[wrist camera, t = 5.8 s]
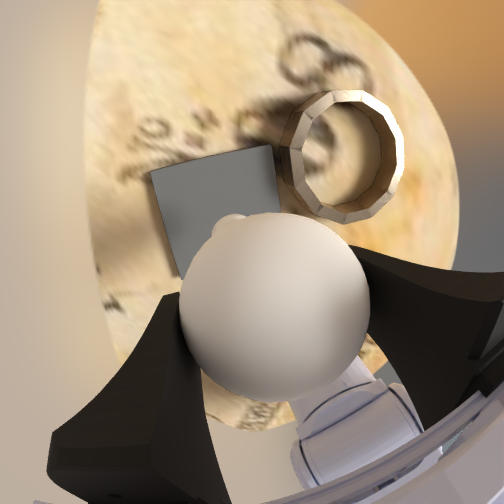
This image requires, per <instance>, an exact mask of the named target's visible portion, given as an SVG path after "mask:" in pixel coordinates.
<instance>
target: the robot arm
mask: <svg viewBox="0 0 504 504" xmlns="http://www.w3.org/2000/svg"><path fill="white" fill-rule="evenodd" d="M348 246H349V247H350V249H351V250H352V251H353V253H354V255H355V256H356V258H357V259H358V261H359V262H360V264H361V266H362V269H363V271H364V274H365V277H366V280H367V283H368V286H369V294H370V319H369V325H368V329H367V333H368V334H369V335H370V337H371V338H372V339H373V340H374V341H375V343H376V344H377V345H378V346H379V347H380V349H381V350H382V351H383V353H384V354H385V356H386V357H387V359H388V360H389V362H390V363H391V365H392V367H393V368H394V370H395V371H396V373H397V375H398V377H399V378H400V380H401V382H402V384H403V385H402V384H397V383H392V384H390V385H389V386H388V387H387V386H386V385H385V384H384V382H383V381H382V380H381V379H380V378H379V379H377V380H375V378H374V377H373V375H372V374H371V373H370V371H369V370H368V369H367V367H366V366H365V364H364V363H363V362H362V360H361V359H360V358H359V356H358V355H357V356H356V358H355V359H354V360H353V362H352V363H351V364H350V366H349V367H348V368H347V369H346V370H345V371H344V373H342V374H341V375H340V376H339V377H338V378H337V379H336V380H335V381H334V382H332V383H331V384H330V385H328V386H327V387H325V388H323V389H322V390H320V391H318V392H316V393H314V394H312V395H309V396H306V397H303V398H300V399H295V400H290V401H288V402H289V404H290V407H291V409H292V411H293V413H294V416H295V418H296V420H297V422H298V425H299V426H298V427H296V431H297V433H298V435H299V438H300V439H298V440H296V441H294V442H293V444H292V449H291V452H290V457H291V462H292V465H293V468H294V471H295V473H296V475H297V477H298V479H299V481H300V483H301V485H302V486H303V488H304V489H305V491H303V492H300V493H297V494H294V495H290V496H287V497H284V498H280V499H277V500H273V501H270V502H266V503H262V504H504V272H494V273H477V272H476V273H475V272H461V271H452V270H445V269H439V268H433V267H428V266H423V265H419V264H415V263H411V262H408V261H404V260H400V259H397V258H394V257H390V256H387V255H384V254H381V253H377V252H374V251H371V250H368V249H364V248H361V247H357V246H352V245H348ZM179 297H180V293H179V292H176V293H172V294H168V295H164V296H163V297H162V299H161V301H160V302H159V304H158V306H157V308H156V310H155V312H154V314H153V316H152V318H151V320H150V322H149V324H148V326H147V328H146V330H145V331H144V333H143V335H142V337H141V338H140V340H139V342H138V343H137V345H136V347H135V348H134V350H133V352H132V353H131V355H130V356H129V357H128V359H127V360H126V362H125V363H124V364H123V366H122V367H121V368H120V370H119V371H118V372H117V373H116V375H115V376H114V377H113V378H112V379H111V380H110V381H109V382H108V384H107V385H106V386H105V387H104V388H103V389H102V391H101V392H100V393H99V394H98V395H97V396H96V397H95V398H94V399H93V400H92V401H91V402H89V403H88V404H87V405H86V406H85V407H84V408H83V409H82V410H81V411H80V412H78V413H77V414H76V415H75V416H74V417H72V418H71V419H70V420H68V421H67V422H66V423H65V424H63V425H62V426H60V427H59V428H58V429H56V430H55V431H54V432H53V433H52V437H51V443H50V449H49V456H48V463H47V474H48V476H49V478H50V479H51V480H52V481H53V482H54V483H55V484H57V485H58V486H59V487H61V488H63V489H64V490H66V491H68V492H70V493H71V494H74V495H75V496H77V497H79V498H80V499H83V500H84V501H86V502H88V504H232V503H231V500H230V497H229V495H228V492H227V489H226V486H225V483H224V480H223V477H222V474H221V471H220V468H219V464H218V461H217V458H216V454H215V451H214V447H213V444H212V440H211V436H210V432H209V428H208V423H207V419H206V415H205V409H204V401H203V391H202V381H201V370H200V366H199V365H198V364H197V362H196V361H195V359H194V357H193V356H192V354H191V353H190V351H189V349H188V346H187V344H186V341H185V338H184V335H183V332H182V329H181V326H180V309H179ZM471 422H472V423H471ZM470 423H471V424H470ZM468 424H470V425H469V426H468V427H467V428H466V429H465V430H464V431H463V432H462V433H461V434H460V435H459V437H458V438H457V440H456V441H455V442H454V443H453V444H452V445H451V446H450V448H448V450H446V451H445V453H442V445H443V444H445V443H446V442H447V441H449V440H450V439H451V438H453V437H454V436H455V435H456V434H458V433H459V432H460V431H461V430H462V429H464V428H465V427H466V426H467V425H468ZM33 504H50V503H45V502H41V501H36V500H35V501H34V502H33Z"/></svg>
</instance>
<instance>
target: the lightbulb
mask: <svg viewBox="0 0 504 504" xmlns="http://www.w3.org/2000/svg"><path fill="white" fill-rule="evenodd" d="M179 309H180V326H181V329H182V332H183V335H184V338H185V341H186V344H187V346H188V349H189V351H190V353H191V354H192V356H193V357H194V359H195V361H196V362H197V364H198V365H199V366H200V367H201V369H202V370H203V371H204V372H205V373H206V374H207V375H208V376H209V377H210V378H211V379H212V380H213V381H214V382H216V383H217V384H219V385H221V386H222V387H224V388H225V389H227V390H229V391H231V392H232V393H234V394H237V395H240V396H243V397H246V398H249V399H252V400H256V401H262V402H284V401H290V400H295V399H300V398H303V397H306V396H309V395H312V394H314V393H316V392H318V391H320V390H322V389H323V388H325V387H327V386H328V385H330V384H331V383H332V382H334V381H335V380H336V379H337V378H338V377H339V376H340V375H341V374H342V373H344V371H345V370H346V369H347V368H348V367H349V366H350V364H351V363H352V362H353V360H354V359H355V358H356V356H357V355H358V353H359V351H360V349H361V348H362V345H363V343H364V340H365V337H366V333H367V329H368V325H369V319H370V294H369V286H368V283H367V280H366V277H365V274H364V271H363V269H362V266H361V264H360V262H359V261H358V259H357V258H356V256H355V255H354V253H353V251H352V250H351V249H350V247H349V246H348V245H347V243H346V242H345V241H344V240H342V239H341V238H340V237H339V236H338V235H337V234H336V233H335V232H334V231H332V230H330V229H329V228H327V227H326V226H324V225H322V224H320V223H318V222H317V221H315V220H313V219H310V218H307V217H303V216H299V215H296V214H288V213H270V212H268V213H262V214H256V215H250V216H248V217H246V216H244V215H241V214H230V215H227V216H225V217H223V218H221V219H220V220H219V221H218V222H217V223H216V224H215V226H214V228H213V230H212V236H211V238H210V239H209V240H208V241H206V242H205V243H204V244H203V246H202V247H201V248H200V250H199V251H198V252H197V254H196V255H195V257H194V258H193V260H192V262H191V264H190V267H189V269H188V271H187V273H186V275H185V278H184V280H183V282H182V287H181V292H180V297H179Z"/></svg>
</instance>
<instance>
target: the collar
mask: <svg viewBox="0 0 504 504" xmlns="http://www.w3.org/2000/svg"><path fill="white" fill-rule="evenodd" d="M335 102H348V103H349V104H351V105H353V106H354V107H356V108H358V109H359V110H361V111H363V112H364V113H366V114H367V115H368V116H369V118H370V120H371V121H372V123H373V125H374V127H375V128H376V130H377V132H378V134H379V136H380V144H381V161H382V162H381V165H380V167H379V170H378V172H377V175H376V178H375V180H374V183H373V185H372V186H371V187H370V188H369V189H368V190H367V191H366V192H364V193H363V194H362V195H361V196H360V197H359V198H358V199H357V200H356V201H354V202H349V203H345V204H340V205H336V206H330V205H328V204H325V203H323V202H320V201H319V200H318V198H317V197H316V196H315V194H314V193H313V191H312V190H311V189H310V187H309V186H308V185H307V183H306V182H305V174H304V165H303V157H302V147H303V144H304V142H305V139H306V136H307V134H308V131H309V129H310V126H311V123H312V121H313V119H314V118H316V117H317V116H318V115H319V114H321V113H322V112H323V111H325V110H326V109H327V108H328V107H330V106H331V105H332V104H334V103H335ZM279 145H280V146H279V151H280V158H281V165H282V172H283V179H284V182H285V183H286V185H287V186H288V187H289V188H290V190H291V191H292V192H293V194H294V195H295V196H296V197H297V199H298V200H299V201H300V203H301V204H302V205H303V206H304V207H305V208H306V209H308V210H309V211H311V212H312V213H314V214H315V215H317V216H320V217H323V218H326V219H329V220H332V221H334V222H337V223H340V224H344V225H345V224H349V223H353V222H356V221H360V220H364V219H368V218H371V217H373V216H374V215H375V214H376V213H377V212H378V211H379V210H380V209H381V208H382V207H383V206H384V205H385V204H386V203H387V202H388V201H389V200H390V199H391V198H392V196H393V195H394V193H395V190H396V188H397V185H398V183H399V180H400V178H401V175H402V172H403V170H404V168H403V167H404V147H403V135H402V133H401V131H400V129H399V127H398V125H397V123H396V121H395V119H394V117H393V115H392V113H391V111H390V110H389V108H388V107H387V106H385V105H384V104H383V103H381V102H380V101H378V100H377V99H375V98H374V97H372V96H371V95H369V94H368V93H366V92H365V91H362V90H333V91H326V92H320V93H317V94H315V95H314V96H313V97H311V98H310V99H308V100H307V101H306V102H304V103H303V104H302V105H300V106H299V107H298V108H297V109H295V110H294V111H293V112H292V113H291V115H290V118H289V120H288V123H287V125H286V128H285V131H284V133H283V136H282V139H281V141H280V144H279Z"/></svg>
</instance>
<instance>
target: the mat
mask: <svg viewBox="0 0 504 504" xmlns="http://www.w3.org/2000/svg"><path fill="white" fill-rule="evenodd" d="M150 174H151V178H152V182H153V186H154V189H155V193H156V197H157V201H158V204H159V208H160V212H161V215H162V219H163V222H164V226H165V229H166V232H167V236H168V239H169V242H170V246H171V249H172V252H173V255H174V259H175V262H176V265H177V268H178V271H179V274H180V277H181V280H184V278H185V275H186V273H187V271H188V269H189V267H190V264H191V262H192V260H193V258H194V257H195V255H196V254H197V252H198V251H199V250H200V248H201V247H202V246H203V244H204V243H205V242H206V241H208V240H209V239H210V238H211V236H212V230H213V228H214V226H215V224H216V223H217V222H218V221H219V220H220V219H221V218H223V217H225V216H227V215H230V214H241V215H244V216H246V217H248V216H250V215H256V214H262V213H268V212H270V213H281V208H280V201H279V193H278V186H277V179H276V172H275V166H274V159H273V152H272V146H271V145H269V144H268V145H262V146H256V147H251V148H246V149H240V150H235V151H231V152H226V153H221V154H216V155H212V156H207V157H203V158H199V159H195V160H190V161H186V162H182V163H178V164H175V165H171V166H167V167H163V168H160V169H156V170H152V171H151V172H150Z"/></svg>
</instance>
